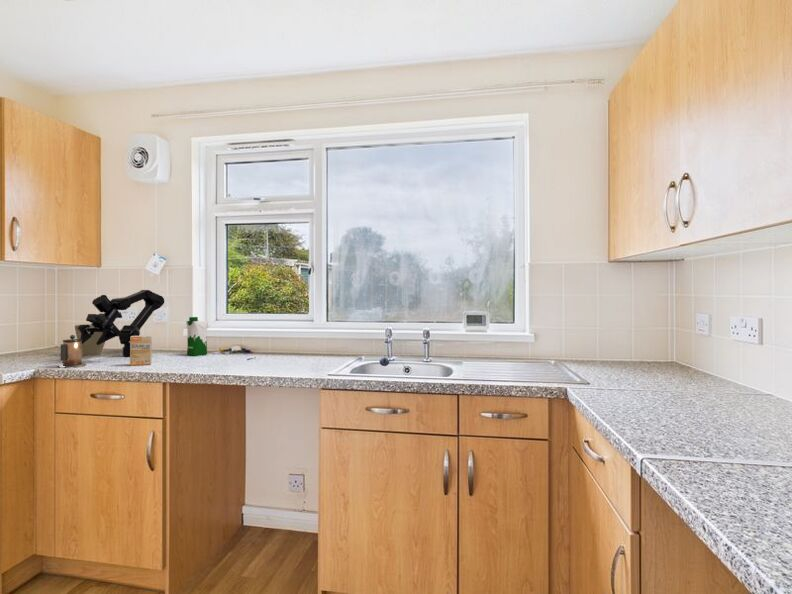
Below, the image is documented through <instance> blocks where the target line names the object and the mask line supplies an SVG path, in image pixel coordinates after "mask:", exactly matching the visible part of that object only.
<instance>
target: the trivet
mask: <svg viewBox="0 0 792 594" xmlns="http://www.w3.org/2000/svg"><path fill="white" fill-rule="evenodd" d="M85 365H87V363H85V362H82V364H81V365H75V366H65V367H74V368H80V367H79V366H82V367H85Z"/></svg>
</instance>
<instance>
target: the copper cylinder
mask: <svg viewBox="0 0 792 594" xmlns="http://www.w3.org/2000/svg"><path fill="white" fill-rule="evenodd" d="M82 355H83V353H82V339H77V338H76V335H75V334H71V335H70V336H69V339H63V340H62V344H60V361H61V362H62V365H63V366H75V365H81V364H82V363H83V356H82Z"/></svg>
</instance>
